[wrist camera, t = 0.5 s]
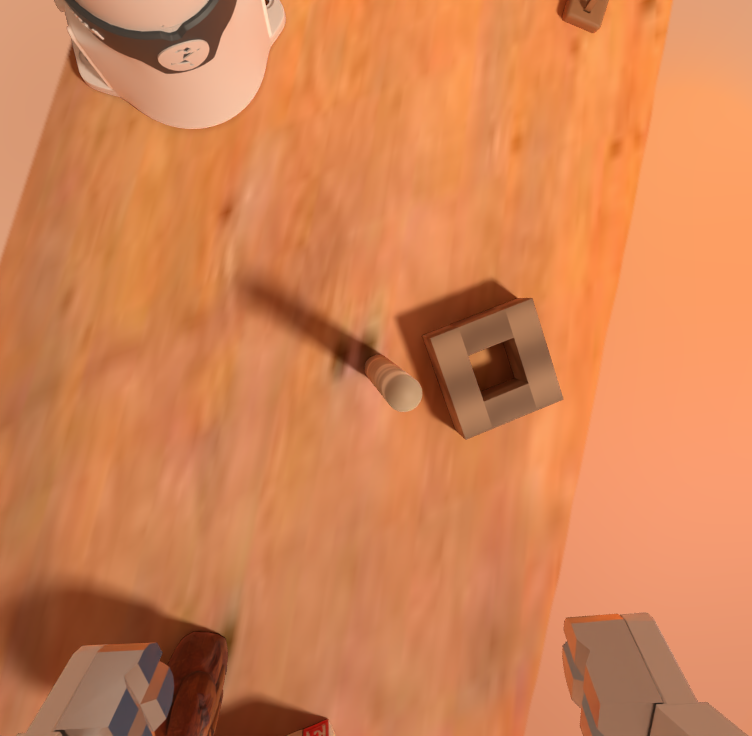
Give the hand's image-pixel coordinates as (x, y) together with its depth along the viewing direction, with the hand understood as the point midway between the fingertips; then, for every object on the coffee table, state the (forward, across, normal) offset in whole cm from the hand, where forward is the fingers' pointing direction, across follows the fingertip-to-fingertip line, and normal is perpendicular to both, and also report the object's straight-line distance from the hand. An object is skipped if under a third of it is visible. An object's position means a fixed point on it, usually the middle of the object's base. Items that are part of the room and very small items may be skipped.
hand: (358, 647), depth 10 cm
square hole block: (+42, -9, +15) cm, 46 cm away
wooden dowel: (+40, +2, +14) cm, 42 cm away
